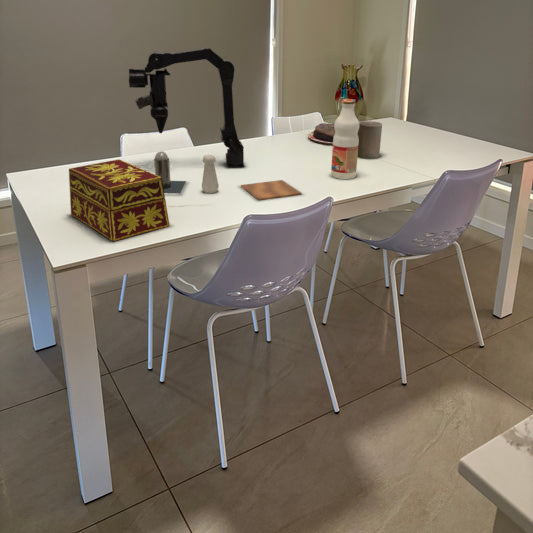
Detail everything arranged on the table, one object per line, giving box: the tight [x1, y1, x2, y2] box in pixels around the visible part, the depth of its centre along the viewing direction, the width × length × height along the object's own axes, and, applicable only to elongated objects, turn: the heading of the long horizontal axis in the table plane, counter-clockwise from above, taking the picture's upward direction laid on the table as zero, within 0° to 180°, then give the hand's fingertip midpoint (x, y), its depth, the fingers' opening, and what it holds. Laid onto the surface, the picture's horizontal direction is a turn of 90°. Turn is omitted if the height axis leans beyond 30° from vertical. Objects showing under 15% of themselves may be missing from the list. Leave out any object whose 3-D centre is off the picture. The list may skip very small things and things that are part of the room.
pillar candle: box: [357, 119, 383, 160], centre depth 245 cm, size 10×10×15 cm
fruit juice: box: [330, 98, 360, 180], centre depth 216 cm, size 9×9×28 cm
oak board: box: [240, 179, 302, 201], centre depth 205 cm, size 16×16×1 cm
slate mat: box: [164, 180, 187, 195], centre depth 206 cm, size 14×14×1 cm
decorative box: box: [68, 159, 170, 242], centre depth 175 cm, size 28×19×15 cm
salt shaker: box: [201, 154, 219, 194], centre depth 200 cm, size 6×6×13 cm
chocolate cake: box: [307, 122, 335, 146], centre depth 274 cm, size 28×28×7 cm
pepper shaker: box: [153, 151, 172, 189], centre depth 204 cm, size 5×5×12 cm
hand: (160, 130), depth 223 cm, fingers open, 9 cm apart
